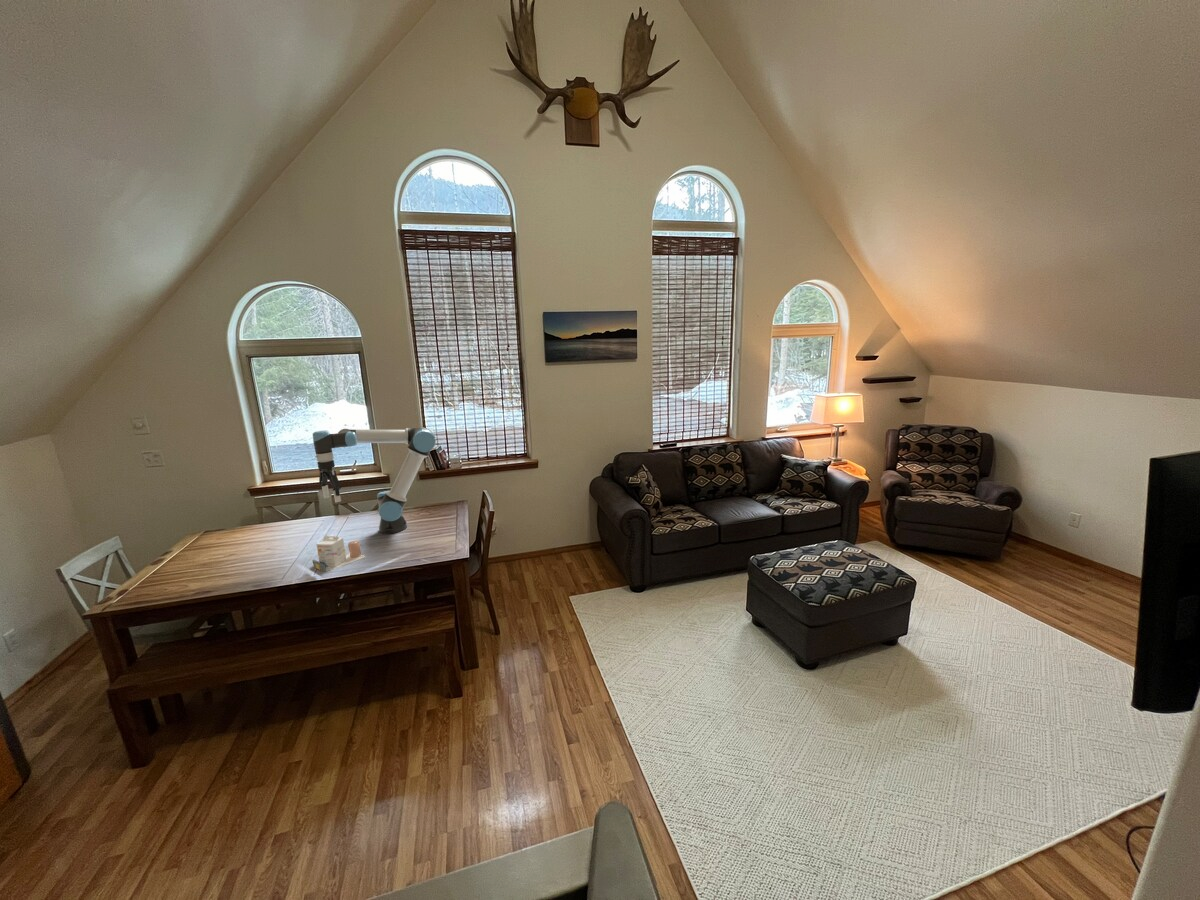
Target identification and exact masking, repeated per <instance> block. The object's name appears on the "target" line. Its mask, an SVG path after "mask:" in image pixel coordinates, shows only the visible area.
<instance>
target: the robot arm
mask: <svg viewBox="0 0 1200 900" xmlns="http://www.w3.org/2000/svg"><path fill="white" fill-rule="evenodd" d="M312 438H313V439H312V441H313V446H314V450H315V451H314V452H315V456H314V457H315V458H316V461H317V468H318V471H319V477H318V478H319V480H318V481H319V485H320V486H321V489H322V496H323V499H327V498H330V491H329V485H328V481H329V483H330V485H331V488H332V493H333V496H334V503H339V502H342V498H341V493H340V489H341V490H342V487H341V484H340V481H339V479H338V476H337V472H336V470H333V468H335V460H334V454H333V453H334V452H333V449H337V448H349V447H355V446H357V444H406V445H407V450H408V453H407V456H406V457H405V459H404V461H403V462H402V465H401V467H400V470H399V471H398V474H397V475H396V477H395V480H394V483H392V486H391V488H390V490H385V491H379V493H377V495H376V497H377V501H378V502H377V503H378V515H379V516H380V521H379V525H378V531H379V532H380V534H394V533H398V532H401V531H404V530H405V529H406V530H407V528H408V523H407V521H406V519H405V517H404V515H403V509H404V507H405V505H406V503H407V498H406V496H407V494H408V492H409V490H410V487H412V484H413V482H414V479H415V478H416V476H417V473H418V472H419V470H420V467H421V465H422V462H423V461H424V459H425V458H427V457H429V455H430V452H431V451H432V450H433V449H434V448H435V445H436V443H437V442H436V436H435V434H434V433H433V432H432V431H431V430H430V429H429V428H428V427H427V428H426V427H423V426H421V427H406V428H405V429H350V428H342V429H340V430H339V431H337V433H330V432H329V430H318V431H314V432H313V433H312Z"/></svg>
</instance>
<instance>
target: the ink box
mask: <svg viewBox="0 0 1200 900" xmlns="http://www.w3.org/2000/svg"><path fill="white" fill-rule="evenodd" d="M316 549H317V556H318V562H320V563H322V564H323V565H325V567H336V566H338V565H339V564H341V563H342V562H344V561H345V560H346V554H347V553H346V548H345V542H344V538H343V537H339V536H336V535H334V536H333V535H331V536H329V535H325V536H323V540H322V541H319V542H317V543H316Z"/></svg>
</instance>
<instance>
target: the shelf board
mask: <svg viewBox="0 0 1200 900" xmlns="http://www.w3.org/2000/svg"><path fill="white" fill-rule="evenodd" d="M345 554H346V560H345V561H344V562H342V563H341V564H339V565H338V566H336V567H325V565H323V564H322V563H320V562H319V560H316V559H313V560H312V566H313V567H314V568H316V569H318V570H319V571H320V572H323V573H326V572H329V571H331V570H335V569H337V568H340V567H343V566H345V565H348V564H352V563H354V562H356V561H359V560H361V559H364V558H367V556H366V555H364V554H362V553H361V556H359V557H356V558H351V557H350V553H349V552H348V553H345Z"/></svg>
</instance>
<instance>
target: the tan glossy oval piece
mask: <svg viewBox="0 0 1200 900" xmlns="http://www.w3.org/2000/svg"><path fill="white" fill-rule="evenodd" d="M347 545H348V554H349V553H350V557H351V558H356V557H359V556H361V554H362V552H361V545H360V540H352V541H349V542H348V543H347Z"/></svg>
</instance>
